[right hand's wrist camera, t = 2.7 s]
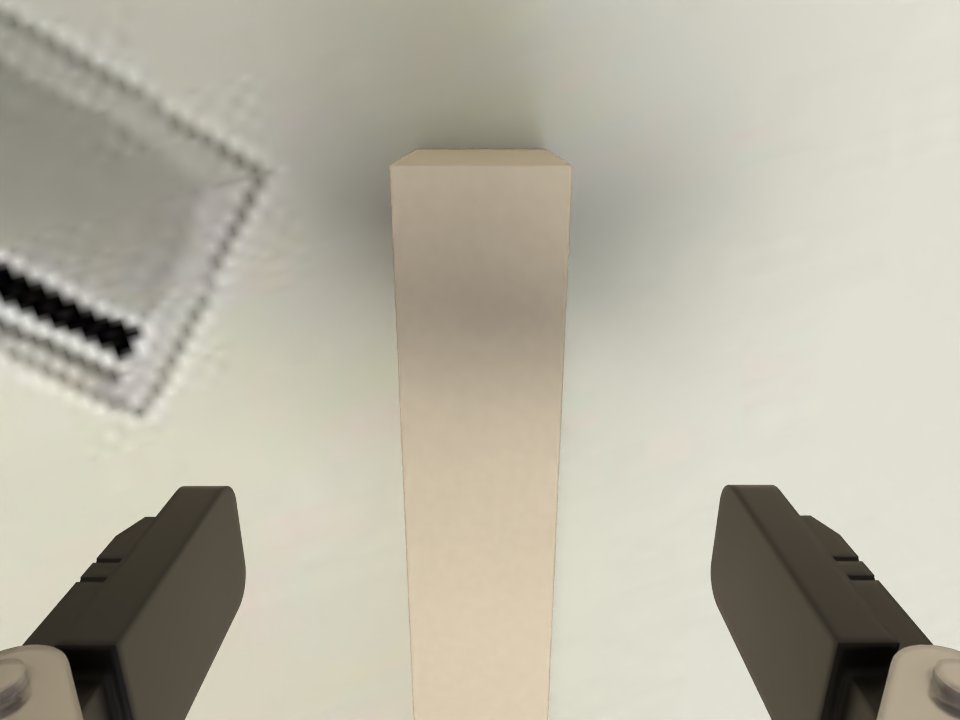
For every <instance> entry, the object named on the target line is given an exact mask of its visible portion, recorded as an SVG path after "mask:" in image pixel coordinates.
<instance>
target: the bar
mask: <svg viewBox="0 0 960 720" xmlns="http://www.w3.org/2000/svg"><path fill="white" fill-rule="evenodd" d="M389 168H390V191H391V213H392V236H393V259H394V282H395V304H396V327H397V350H398V373H399V395H400V418H401V441H402V464H403V486H404V509H405V532H406V554H407V577H408V600H409V623H410V645H411V668H412V691H413V714H414V720H548V702H549V680H550V657H551V635H552V613H553V591H554V568H555V546H556V524H557V502H558V480H559V457H560V435H561V413H562V391H563V368H564V346H565V324H566V302H567V279H568V257H569V235H570V213H571V190H572V168H573V166H572V165H571V164H569V163H568V162H566V161H564V160H563V159H561V158H559V157H557V156H556V155H554V154H552V153H551V152H549V151H547V150H545V149H416V150H414V151H413V152H411V153H409V154H408V155H406V156H404V157H403V158H401V159H399V160H398V161H396V162H394V163H393V164H391V165H390V167H389Z"/></svg>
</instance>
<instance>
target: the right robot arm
mask: <svg viewBox="0 0 960 720" xmlns="http://www.w3.org/2000/svg"><path fill="white" fill-rule="evenodd" d="M245 579H246V568H245V560H244V552H243V545H242V538H241V531H240V524H239V517H238V510H237V503H236V497H235V494H234V491H233V490H232V488H231V487H229V486H182V487H180V488H179V489H178V490H177V491H176V492H175V494H174V495H173V496H172V497H171V499H170V500H169V501H168V502H167V504H166V505H165V506H164V507H163V509H162V510H161V511H160V512H159V514H158V515H157V516H156V517H145V518H143V519H141V520H140V521H138V522H137V523H135V524H134V525H132V526H131V527H129V528H128V529H126V530H124V531H123V532H121V533H120V534H118V535H117V536H116V537H115V538H114V539H113V540H112V541H111V542H110V544H109V545H108V546H107V547H106V548H105V549H104V551H103V552H102V553H101V554H100V555H99V556H98V558H97V562H96V563H92V565H91V566H90V567H89V568H88V569H87V570H86V572H85V573H84V574H83V575H82V576H81V580H80V582H76V583H75V584H74V586H73V587H72V588H71V589H70V590H69V591H68V593H67V594H66V595H65V596H64V597H63V598H62V600H61V601H60V602H59V603H58V604H57V605H56V607H55V608H54V609H53V610H52V611H51V612H50V614H49V615H48V616H47V617H46V618H45V619H44V621H43V622H42V623H41V624H40V625H39V626H38V628H37V629H36V630H35V631H34V632H33V633H32V635H31V636H30V637H29V638H28V639H27V640H26V642H25V643H24V644H23V645H22V646H18V647H14V648H9V649H6V650H3V651H0V720H185V718H186V716H187V714H188V712H189V710H190V708H191V706H192V703H193V701H194V699H195V697H196V695H197V693H198V691H199V689H200V687H201V685H202V683H203V681H204V679H205V677H206V675H207V673H208V671H209V668H210V666H211V664H212V662H213V660H214V658H215V656H216V654H217V652H218V650H219V648H220V646H221V644H222V642H223V640H224V638H225V636H226V633H227V631H228V629H229V627H230V625H231V623H232V621H233V619H234V617H235V615H236V613H237V611H238V609H239V606H240V604H241V601H242V598H243V593H244V588H245ZM711 583H712V590H713V595H714V598H715V601H716V604H717V606H718V609H719V611H720V613H721V615H722V617H723V619H724V621H725V623H726V625H727V627H728V629H729V632H730V634H731V636H732V638H733V640H734V642H735V644H736V646H737V648H738V650H739V652H740V654H741V657H742V659H743V661H744V663H745V665H746V667H747V669H748V671H749V673H750V675H751V677H752V679H753V682H754V684H755V686H756V688H757V690H758V692H759V694H760V696H761V698H762V700H763V702H764V704H765V707H766V709H767V711H768V713H769V715H770V717H771V719H772V720H960V651H957V650H954V649H951V648H946V647H942V646H935V645H933V644H932V643H931V642H930V640H929V639H928V638H927V637H926V636H925V635H924V633H923V632H922V631H921V630H920V629H919V628H918V626H917V625H916V624H915V623H914V622H913V620H912V619H911V618H910V617H909V616H908V615H907V613H906V612H905V611H904V610H903V609H902V608H901V606H900V605H899V604H898V603H897V602H896V600H895V599H894V598H893V597H892V596H891V595H890V593H889V592H888V591H887V590H886V589H885V588H884V586H883V585H882V584H881V583H880V582H879V580H875V579H874V575H873V573H872V572H871V571H870V570H869V569H868V567H867V566H866V565H865V564H864V563H863V562H862V561H859V559H858V556H857V555H856V553H855V552H854V551H853V550H852V549H851V547H850V546H849V545H848V544H847V543H846V542H845V540H844V539H843V538H842V537H841V536H840V535H839V534H838V533H836V532H835V531H833V530H832V529H830V528H829V527H827V526H826V525H824V524H823V523H821V522H819V521H818V520H816V519H815V518H813V517H812V516H800V515H799V514H798V513H797V511H796V510H795V509H794V508H793V506H792V505H791V504H790V503H789V501H788V500H787V499H786V498H785V496H784V495H783V494H782V492H781V491H780V490H779V489H778V488H777V487H776V486H774V485H727V486H725V487H724V489H723V491H722V494H721V498H720V504H719V511H718V518H717V526H716V533H715V540H714V547H713V554H712V561H711Z"/></svg>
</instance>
